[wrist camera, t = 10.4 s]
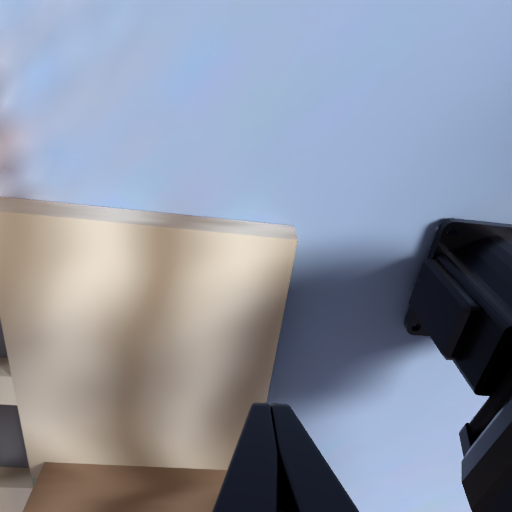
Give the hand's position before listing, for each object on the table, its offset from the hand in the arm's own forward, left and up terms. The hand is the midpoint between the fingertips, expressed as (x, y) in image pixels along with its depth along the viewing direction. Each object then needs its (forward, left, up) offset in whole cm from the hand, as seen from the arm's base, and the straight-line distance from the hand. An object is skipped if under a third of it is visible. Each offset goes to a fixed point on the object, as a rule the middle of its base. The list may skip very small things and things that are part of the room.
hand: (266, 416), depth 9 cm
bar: (+5, +18, -10) cm, 21 cm away
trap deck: (+8, +11, -11) cm, 17 cm away
